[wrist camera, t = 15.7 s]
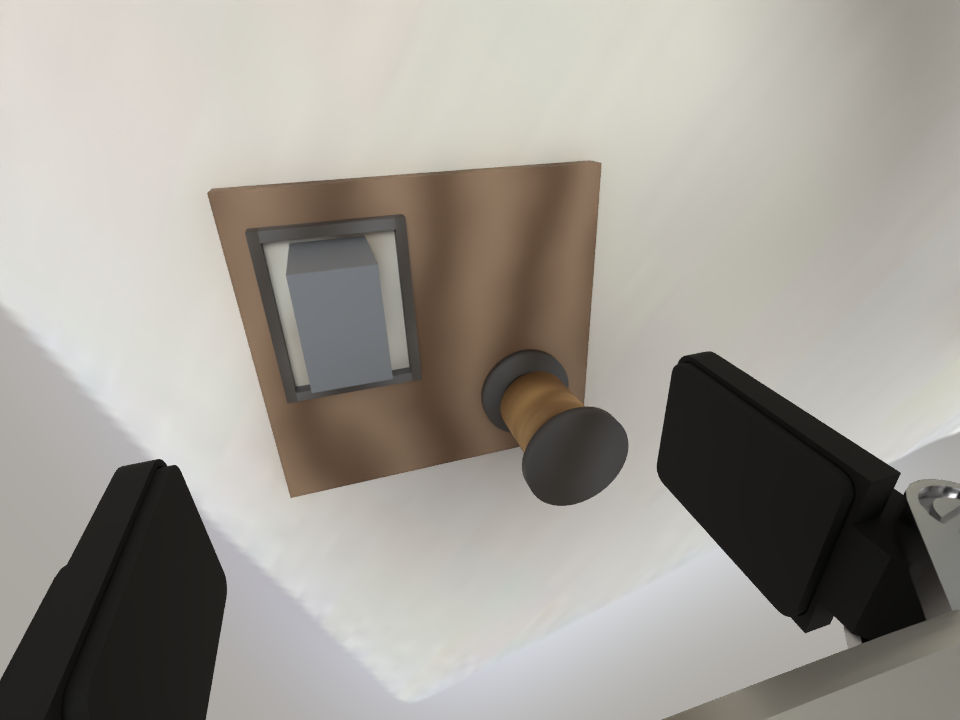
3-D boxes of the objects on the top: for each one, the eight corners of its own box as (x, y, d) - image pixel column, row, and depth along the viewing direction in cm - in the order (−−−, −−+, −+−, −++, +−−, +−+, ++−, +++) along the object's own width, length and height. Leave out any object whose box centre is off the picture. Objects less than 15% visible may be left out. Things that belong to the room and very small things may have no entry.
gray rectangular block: (364, 235, 28) (377, 264, 23) (378, 333, 31) (392, 378, 26) (289, 243, 27) (285, 275, 22) (310, 343, 30) (311, 393, 25)
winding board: (589, 160, 32) (695, 181, 23) (573, 422, 41) (644, 506, 32) (211, 188, 26) (167, 229, 18) (291, 483, 36) (287, 604, 27)
